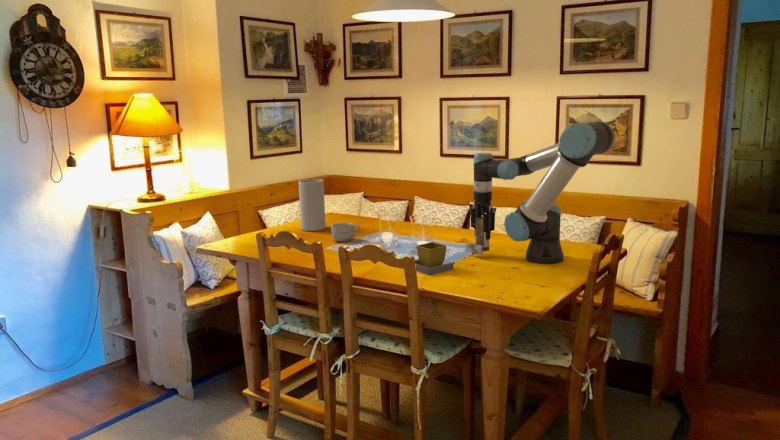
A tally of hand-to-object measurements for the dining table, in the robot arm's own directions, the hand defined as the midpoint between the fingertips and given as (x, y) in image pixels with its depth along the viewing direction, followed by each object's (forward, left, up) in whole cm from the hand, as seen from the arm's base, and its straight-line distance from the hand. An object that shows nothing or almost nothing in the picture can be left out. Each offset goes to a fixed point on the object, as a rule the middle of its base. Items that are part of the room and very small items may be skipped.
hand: (482, 245), depth 270 cm
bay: (0, +29, -4) cm, 29 cm away
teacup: (+62, +27, -5) cm, 68 cm away
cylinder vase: (+95, +25, -4) cm, 98 cm away
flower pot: (+1, +28, -4) cm, 28 cm away
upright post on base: (0, +2, -2) cm, 3 cm away
